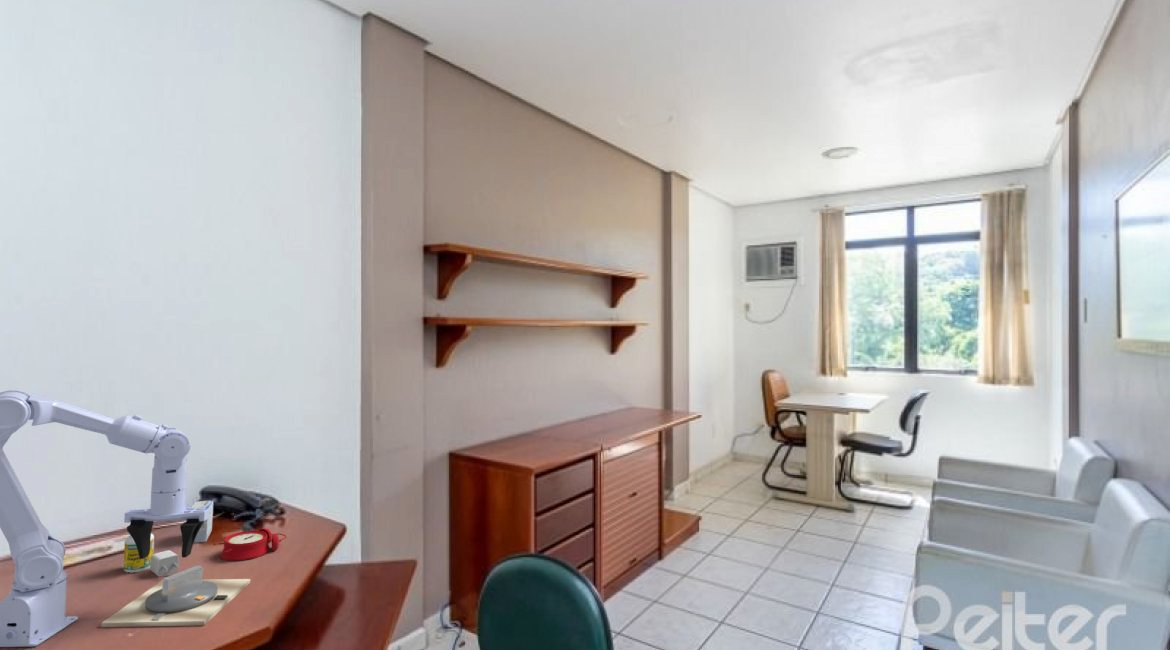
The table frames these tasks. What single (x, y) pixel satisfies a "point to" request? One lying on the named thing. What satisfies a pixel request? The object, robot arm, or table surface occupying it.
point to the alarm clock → (249, 544)
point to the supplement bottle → (136, 556)
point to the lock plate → (198, 615)
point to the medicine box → (207, 524)
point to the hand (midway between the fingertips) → (165, 556)
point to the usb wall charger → (164, 563)
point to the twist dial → (182, 592)
